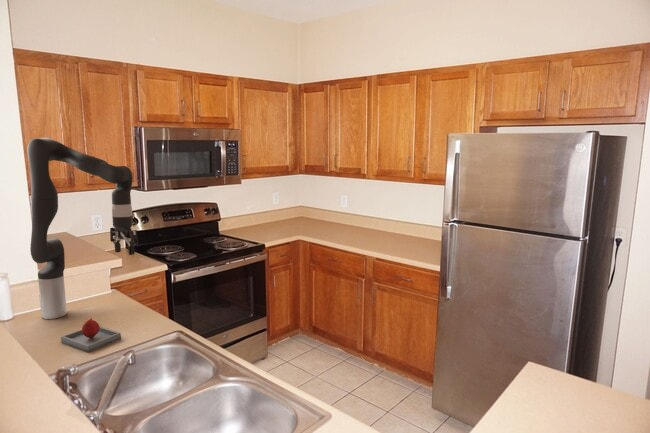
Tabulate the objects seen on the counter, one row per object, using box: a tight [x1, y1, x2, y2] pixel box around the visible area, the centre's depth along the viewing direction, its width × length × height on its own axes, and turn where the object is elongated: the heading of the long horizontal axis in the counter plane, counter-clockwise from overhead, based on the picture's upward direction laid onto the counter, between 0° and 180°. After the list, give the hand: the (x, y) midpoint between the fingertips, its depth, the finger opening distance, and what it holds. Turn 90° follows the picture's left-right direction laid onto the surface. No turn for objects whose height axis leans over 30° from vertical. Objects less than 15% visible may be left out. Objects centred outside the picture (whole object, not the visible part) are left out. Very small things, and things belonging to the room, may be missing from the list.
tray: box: [60, 325, 122, 354], centre depth 162 cm, size 16×13×2 cm
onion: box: [81, 317, 101, 338], centre depth 162 cm, size 6×6×8 cm
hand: (124, 253), depth 181 cm, fingers open, 8 cm apart
